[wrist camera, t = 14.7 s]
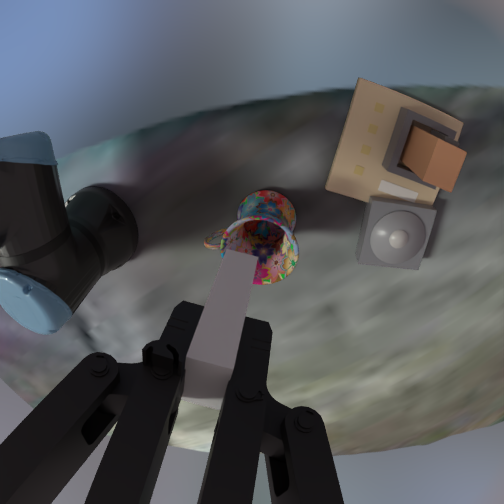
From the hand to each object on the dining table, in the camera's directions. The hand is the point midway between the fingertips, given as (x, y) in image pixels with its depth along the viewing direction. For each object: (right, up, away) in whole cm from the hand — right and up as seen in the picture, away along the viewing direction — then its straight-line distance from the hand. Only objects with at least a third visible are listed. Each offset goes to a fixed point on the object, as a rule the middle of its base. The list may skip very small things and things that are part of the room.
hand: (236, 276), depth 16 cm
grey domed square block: (+22, +5, +30) cm, 37 cm away
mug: (+2, +7, +32) cm, 33 cm away
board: (+20, +15, +24) cm, 35 cm away
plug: (+22, +15, +22) cm, 35 cm away
